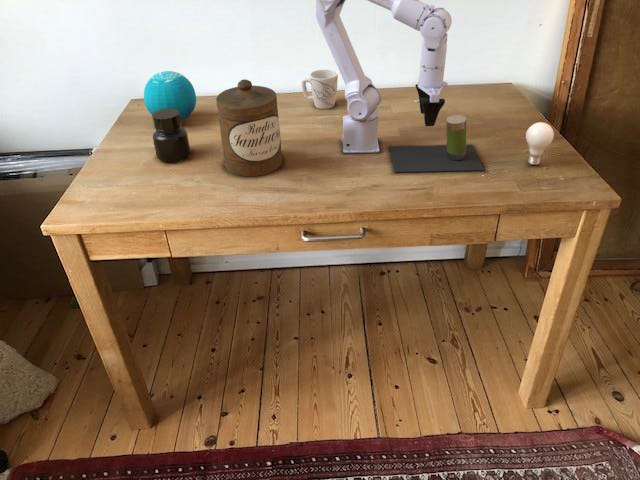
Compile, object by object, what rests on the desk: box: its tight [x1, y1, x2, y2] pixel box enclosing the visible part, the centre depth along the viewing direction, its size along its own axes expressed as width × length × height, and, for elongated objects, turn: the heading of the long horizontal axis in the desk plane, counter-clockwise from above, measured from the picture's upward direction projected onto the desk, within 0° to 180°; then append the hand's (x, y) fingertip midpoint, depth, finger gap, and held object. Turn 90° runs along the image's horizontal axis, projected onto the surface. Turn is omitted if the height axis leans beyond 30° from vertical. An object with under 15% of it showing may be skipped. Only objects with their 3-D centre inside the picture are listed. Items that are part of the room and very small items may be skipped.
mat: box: [389, 144, 485, 174], centre depth 141 cm, size 22×14×1 cm, turn 90°
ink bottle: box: [151, 109, 192, 164], centre depth 143 cm, size 10×9×12 cm
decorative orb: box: [143, 70, 197, 123], centre depth 161 cm, size 15×15×15 cm
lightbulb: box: [525, 121, 555, 166], centre depth 134 cm, size 6×6×11 cm
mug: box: [301, 69, 339, 110], centre depth 170 cm, size 11×8×10 cm
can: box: [445, 114, 467, 160], centre depth 138 cm, size 5×5×10 cm
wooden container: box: [215, 78, 283, 177], centre depth 136 cm, size 15×15×22 cm
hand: (427, 119), depth 136 cm, fingers open, 7 cm apart
